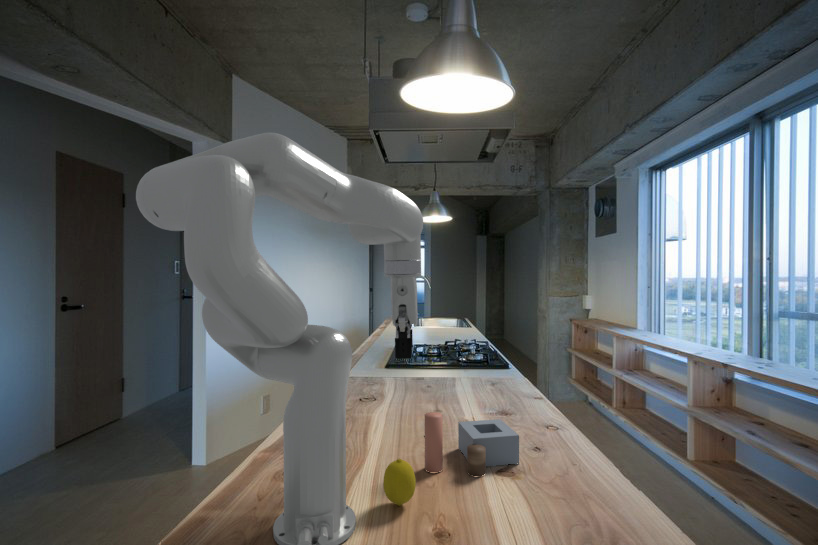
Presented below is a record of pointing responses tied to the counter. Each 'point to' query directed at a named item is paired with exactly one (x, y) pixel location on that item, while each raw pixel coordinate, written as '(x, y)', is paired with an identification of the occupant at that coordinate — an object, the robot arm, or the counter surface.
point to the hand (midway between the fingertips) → (404, 352)
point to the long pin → (433, 442)
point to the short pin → (476, 460)
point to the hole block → (490, 440)
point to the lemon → (399, 482)
